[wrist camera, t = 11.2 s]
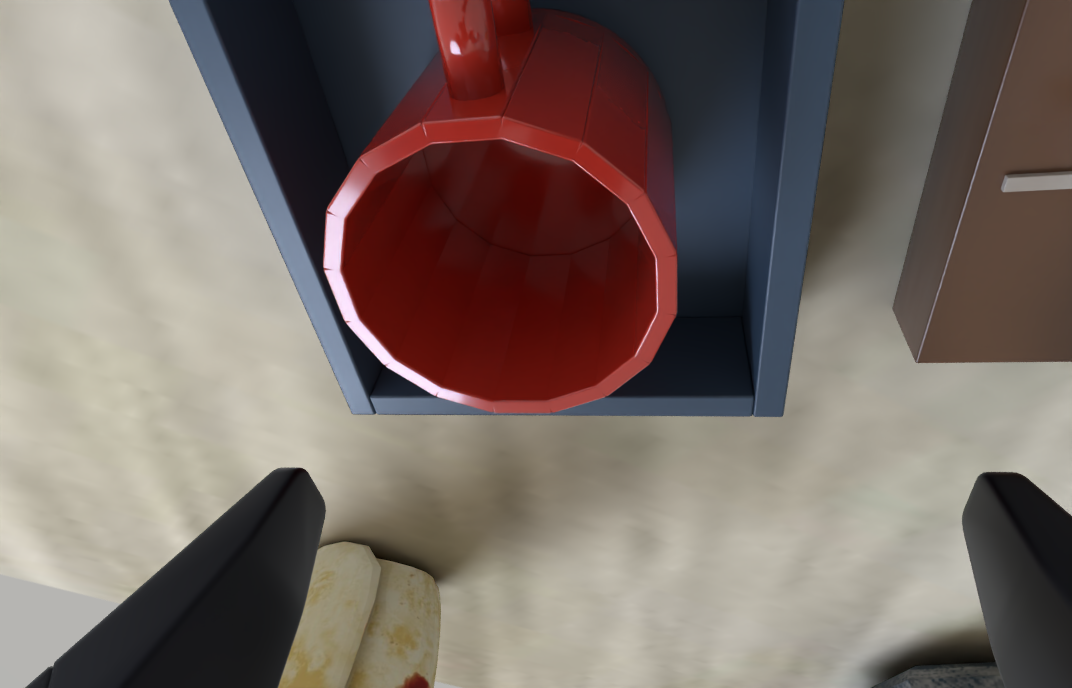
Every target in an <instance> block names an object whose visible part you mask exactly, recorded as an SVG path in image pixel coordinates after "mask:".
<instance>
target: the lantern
mask: <svg viewBox="0 0 1072 688" xmlns="http://www.w3.org/2000/svg"><path fill="white" fill-rule="evenodd" d="M872 688H1005V686H1004V683H1003V681H1002V678H1001V675H1000V672H999V670H998V667H997V664H996V662H989V663H967V664H945V665H922V666H915V667H913V668H910V669H908V670H906V671H904V672H902V673H900V674H898V675H896V676H894V677H892V678H890V679H888V680H886V681H884V682H882V683H880V684H878V685H876V686H874V687H872Z"/></svg>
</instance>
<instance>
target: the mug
mask: <svg viewBox="0 0 1072 688" xmlns="http://www.w3.org/2000/svg"><path fill="white" fill-rule="evenodd" d="M428 2H429V6H430V11H431V16H432V20H433V25H434V30H435V34H436V39H437V43H438V48H439V51H438V52H437V54H436V55H435V56H434V58H433V59H432V60H431V62H430V63H429V64H428V66H427V67H426V68H425V70H424V71H423V72H422V74H421V75H420V76H419V78H418V79H417V80H416V82H415V83H414V84H413V86H412V87H411V88H410V90H409V91H408V92H407V94H406V95H405V96H404V98H403V99H402V100H401V102H400V103H399V104H398V106H397V107H396V108H395V110H394V111H393V112H392V114H391V115H390V116H389V118H388V119H387V120H386V122H385V123H384V124H383V126H382V127H381V128H380V130H379V131H378V132H377V133H376V135H375V136H374V137H373V139H372V140H371V141H370V143H369V144H368V145H367V147H366V148H365V149H364V151H363V152H362V153H361V155H360V156H359V157H358V159H357V160H356V162H355V164H354V165H353V167H352V168H351V170H350V172H349V173H348V175H347V176H346V178H345V180H344V181H343V183H342V184H341V186H340V188H339V189H338V191H337V192H336V194H335V195H334V197H333V199H332V200H331V202H330V203H329V205H328V207H327V210H326V219H325V237H324V255H323V267H324V272H325V275H326V277H327V280H328V282H329V285H330V287H331V289H332V292H333V294H334V297H335V299H336V302H337V304H338V307H339V309H340V312H341V314H342V317H343V319H344V321H346V324H347V325H348V326H349V327H350V328H351V330H352V331H353V332H354V333H355V334H356V335H357V336H358V337H359V338H360V340H361V341H362V342H363V343H364V344H365V345H366V346H367V347H368V348H369V349H370V351H371V352H372V353H373V354H374V355H375V356H376V357H377V358H378V359H379V360H380V362H381V363H382V364H383V365H385V366H386V367H387V368H389V369H390V370H392V371H394V372H395V373H397V374H399V375H400V376H402V377H404V378H405V379H407V380H409V381H410V382H412V383H414V384H415V385H417V386H419V387H420V388H422V389H424V390H425V391H427V392H429V393H430V394H432V395H434V396H437V397H438V398H442V399H445V400H449V401H453V402H456V403H460V404H463V405H467V406H470V407H474V408H478V409H481V410H485V411H488V412H494V413H552V412H553V413H555V412H558V411H561V410H565V409H568V408H571V407H575V406H578V405H581V404H585V403H588V402H591V401H595V400H598V399H601V398H605V397H606V396H608V395H610V394H611V393H612V392H614V391H615V390H616V389H618V388H619V387H620V386H622V385H623V384H624V383H626V382H627V381H628V380H630V379H631V378H632V377H634V376H635V375H636V374H638V373H639V372H640V371H641V370H643V369H644V368H645V367H647V366H648V365H649V364H650V363H651V362H652V360H653V358H654V357H655V355H656V353H657V351H658V349H659V347H660V345H661V343H662V342H663V340H664V338H665V336H666V334H667V332H668V330H669V328H670V327H671V325H672V323H673V321H674V319H675V317H676V313H677V291H678V254H677V232H676V210H675V188H674V166H673V144H672V123H671V119H670V117H669V115H668V110H667V105H666V102H665V100H664V97H663V94H662V91H661V89H660V87H659V85H658V83H657V81H656V79H655V77H654V75H653V74H652V72H651V70H650V69H649V68H648V66H647V65H646V64H645V62H644V61H643V59H642V58H641V57H640V56H639V55H638V54H637V53H636V52H635V51H634V50H633V49H632V47H631V46H630V45H629V44H628V43H626V42H625V41H624V40H623V39H621V38H620V37H619V36H617V35H616V34H615V33H614V32H612V31H611V30H609V29H607V28H605V27H604V26H602V25H600V24H598V23H597V22H595V21H592V20H590V19H587V18H585V17H582V16H580V15H577V14H573V13H569V12H565V11H561V10H555V9H545V8H531V4H530V0H428Z"/></svg>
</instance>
